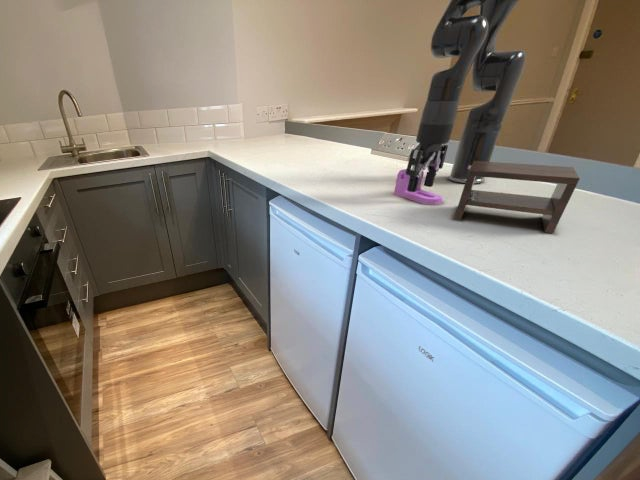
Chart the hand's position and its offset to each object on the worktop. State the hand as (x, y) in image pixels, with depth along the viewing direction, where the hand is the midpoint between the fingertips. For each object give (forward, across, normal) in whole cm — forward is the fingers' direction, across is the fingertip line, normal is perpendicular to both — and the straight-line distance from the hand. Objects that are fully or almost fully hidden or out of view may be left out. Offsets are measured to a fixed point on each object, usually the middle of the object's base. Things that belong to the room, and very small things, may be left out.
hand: (419, 188), depth 92 cm
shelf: (+3, -2, -21) cm, 21 cm away
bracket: (+3, 0, 0) cm, 3 cm away
